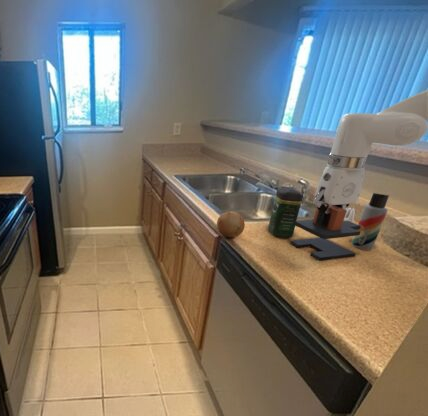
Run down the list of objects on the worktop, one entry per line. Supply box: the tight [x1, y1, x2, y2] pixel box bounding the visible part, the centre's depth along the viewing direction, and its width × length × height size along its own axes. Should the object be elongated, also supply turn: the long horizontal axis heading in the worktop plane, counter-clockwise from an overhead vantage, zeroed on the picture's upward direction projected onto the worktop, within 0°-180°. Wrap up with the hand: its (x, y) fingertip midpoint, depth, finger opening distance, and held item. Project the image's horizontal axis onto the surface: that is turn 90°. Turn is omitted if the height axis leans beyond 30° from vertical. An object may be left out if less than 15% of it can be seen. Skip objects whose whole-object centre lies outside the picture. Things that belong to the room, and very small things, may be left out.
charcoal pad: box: [289, 237, 357, 262], centre depth 96 cm, size 14×12×1 cm
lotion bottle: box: [351, 192, 390, 251], centre depth 94 cm, size 6×6×20 cm
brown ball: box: [216, 211, 246, 238], centre depth 105 cm, size 10×10×10 cm
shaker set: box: [344, 207, 356, 223], centre depth 112 cm, size 12×4×11 cm, turn 162°
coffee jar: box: [267, 185, 304, 239], centre depth 105 cm, size 10×8×19 cm
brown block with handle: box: [293, 204, 361, 240], centre depth 79 cm, size 16×10×7 cm, turn 101°
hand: (326, 224), depth 79 cm, fingers closed on brown block with handle, 3 cm apart
